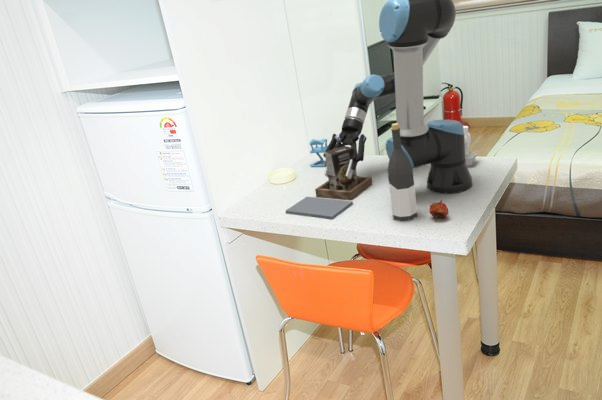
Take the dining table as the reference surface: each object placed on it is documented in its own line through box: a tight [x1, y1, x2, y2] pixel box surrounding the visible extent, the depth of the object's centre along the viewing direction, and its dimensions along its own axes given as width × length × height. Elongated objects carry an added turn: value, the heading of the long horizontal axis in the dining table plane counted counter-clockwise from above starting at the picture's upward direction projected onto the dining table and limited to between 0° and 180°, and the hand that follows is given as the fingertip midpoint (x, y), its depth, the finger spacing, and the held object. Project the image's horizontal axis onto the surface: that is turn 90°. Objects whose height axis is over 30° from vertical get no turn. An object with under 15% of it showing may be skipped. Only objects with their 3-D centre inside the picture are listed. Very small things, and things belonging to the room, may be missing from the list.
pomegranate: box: [428, 199, 449, 223], centre depth 155 cm, size 6×6×8 cm
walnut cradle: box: [314, 175, 373, 201], centre depth 191 cm, size 15×15×3 cm
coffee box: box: [324, 145, 358, 191], centre depth 189 cm, size 9×6×16 cm
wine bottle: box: [387, 122, 418, 222], centre depth 157 cm, size 8×8×30 cm
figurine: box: [463, 125, 478, 167], centre depth 193 cm, size 7×9×15 cm
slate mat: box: [285, 196, 354, 220], centre depth 180 cm, size 20×13×1 cm, turn 54°
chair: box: [309, 138, 328, 168], centre depth 225 cm, size 8×8×12 cm
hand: (337, 176), depth 187 cm, fingers closed on coffee box, 9 cm apart
